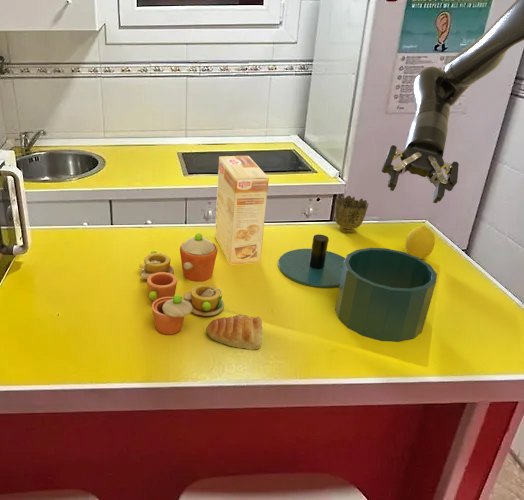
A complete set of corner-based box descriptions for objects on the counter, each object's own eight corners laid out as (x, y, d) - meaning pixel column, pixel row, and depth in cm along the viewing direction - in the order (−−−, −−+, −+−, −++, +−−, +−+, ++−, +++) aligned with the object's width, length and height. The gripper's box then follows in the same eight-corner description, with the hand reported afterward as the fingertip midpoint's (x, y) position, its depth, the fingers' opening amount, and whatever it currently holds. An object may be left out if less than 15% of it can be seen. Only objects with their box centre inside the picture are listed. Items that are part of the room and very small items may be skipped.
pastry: (204, 347, 85) (205, 327, 83) (207, 323, 91) (208, 305, 89) (262, 352, 84) (264, 332, 82) (261, 327, 90) (263, 309, 88)
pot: (425, 309, 95) (439, 259, 91) (418, 354, 84) (433, 299, 79) (344, 289, 101) (353, 241, 96) (327, 329, 90) (336, 276, 85)
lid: (361, 263, 111) (367, 230, 107) (346, 298, 98) (353, 263, 95) (289, 247, 117) (293, 216, 113) (267, 278, 105) (271, 244, 101)
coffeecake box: (261, 265, 110) (270, 177, 101) (228, 267, 109) (234, 178, 100) (243, 234, 123) (249, 154, 114) (213, 236, 122) (217, 155, 113)
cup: (368, 232, 124) (374, 201, 121) (353, 242, 120) (359, 210, 116) (339, 223, 129) (344, 193, 125) (324, 232, 124) (329, 201, 120)
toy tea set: (137, 265, 109) (136, 223, 105) (210, 262, 111) (212, 220, 106) (146, 342, 86) (145, 292, 82) (237, 336, 88) (241, 287, 83)
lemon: (419, 253, 115) (428, 220, 111) (435, 265, 110) (444, 231, 107) (396, 254, 114) (404, 221, 111) (411, 267, 109) (419, 232, 106)
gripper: (399, 116, 110) (384, 172, 103) (469, 134, 107) (459, 193, 99) (387, 141, 117) (373, 195, 109) (453, 158, 113) (443, 215, 106)
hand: (414, 194), depth 104 cm, fingers open, 8 cm apart
